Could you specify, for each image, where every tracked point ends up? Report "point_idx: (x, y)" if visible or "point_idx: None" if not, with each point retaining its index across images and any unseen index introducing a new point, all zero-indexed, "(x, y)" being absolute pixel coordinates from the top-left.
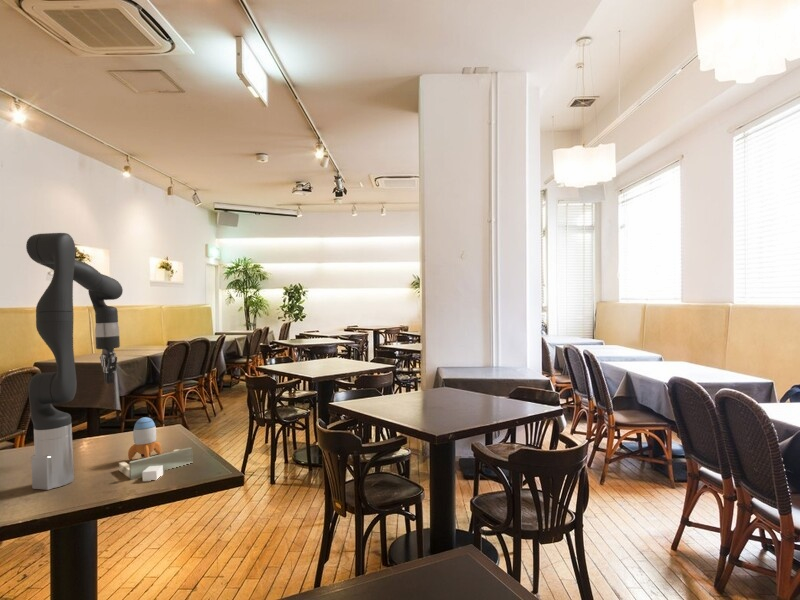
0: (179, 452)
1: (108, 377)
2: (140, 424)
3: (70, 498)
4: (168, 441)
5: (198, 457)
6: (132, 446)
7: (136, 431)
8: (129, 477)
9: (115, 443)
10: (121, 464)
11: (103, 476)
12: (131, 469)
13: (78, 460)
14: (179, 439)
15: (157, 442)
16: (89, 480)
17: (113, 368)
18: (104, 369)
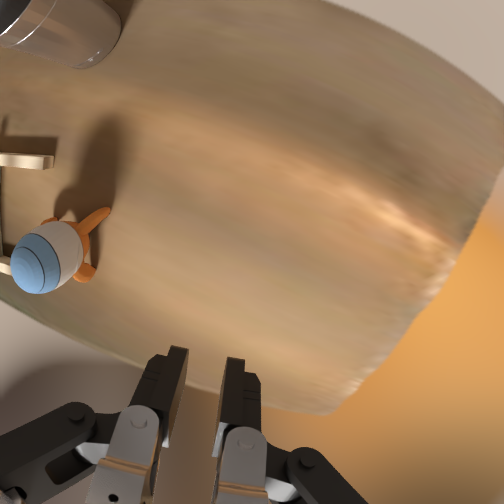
0: None
1: (145, 381)
2: (15, 248)
3: (4, 54)
4: (191, 344)
5: (20, 290)
6: (83, 221)
7: (29, 232)
8: (2, 152)
9: (326, 272)
10: (29, 156)
11: (46, 119)
12: None
13: (241, 126)
14: None
15: (74, 277)
16: (48, 92)
17: (70, 451)
18: (224, 455)
